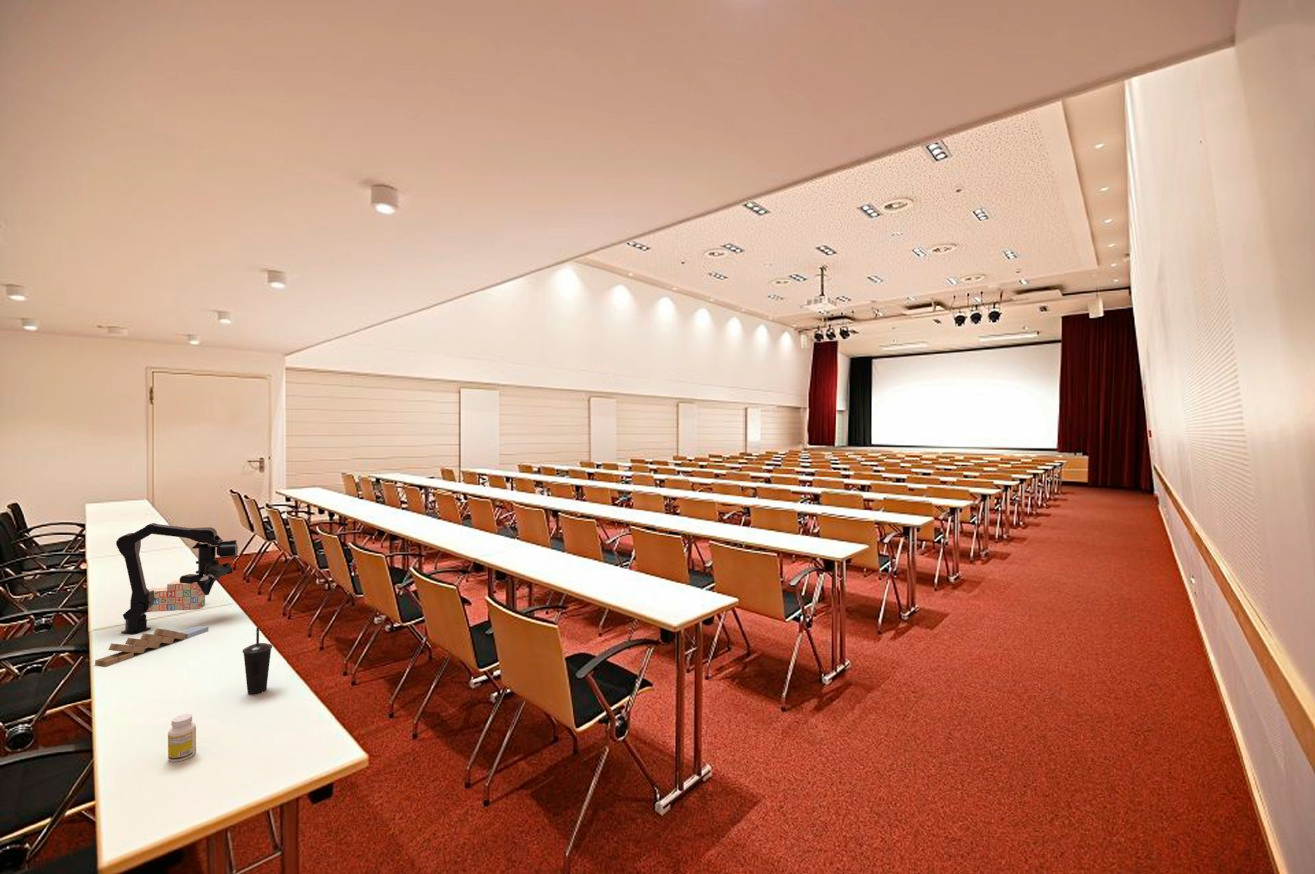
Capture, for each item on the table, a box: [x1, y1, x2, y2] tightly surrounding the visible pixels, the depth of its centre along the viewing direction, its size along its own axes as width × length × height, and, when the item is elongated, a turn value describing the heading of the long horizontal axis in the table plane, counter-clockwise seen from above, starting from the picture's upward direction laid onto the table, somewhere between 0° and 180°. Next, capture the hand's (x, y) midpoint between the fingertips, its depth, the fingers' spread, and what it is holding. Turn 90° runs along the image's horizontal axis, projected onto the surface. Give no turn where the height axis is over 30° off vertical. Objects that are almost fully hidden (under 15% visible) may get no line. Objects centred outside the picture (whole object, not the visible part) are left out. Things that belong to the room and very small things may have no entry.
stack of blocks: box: [146, 580, 206, 613], centre depth 259 cm, size 21×6×12 cm, turn 103°
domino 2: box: [108, 643, 147, 654], centre depth 205 cm, size 5×2×8 cm
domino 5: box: [153, 628, 187, 641], centre depth 219 cm, size 5×2×8 cm
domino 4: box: [140, 633, 176, 645], centre depth 214 cm, size 5×2×8 cm
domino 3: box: [124, 637, 162, 649], centre depth 210 cm, size 5×2×8 cm
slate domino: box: [179, 625, 209, 640], centre depth 228 cm, size 5×2×8 cm
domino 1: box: [94, 651, 135, 668], centre depth 200 cm, size 5×2×8 cm
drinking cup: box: [242, 627, 273, 696], centre depth 179 cm, size 8×8×20 cm
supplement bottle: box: [167, 713, 197, 763], centre depth 143 cm, size 5×5×10 cm
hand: (206, 595), depth 240 cm, fingers closed
